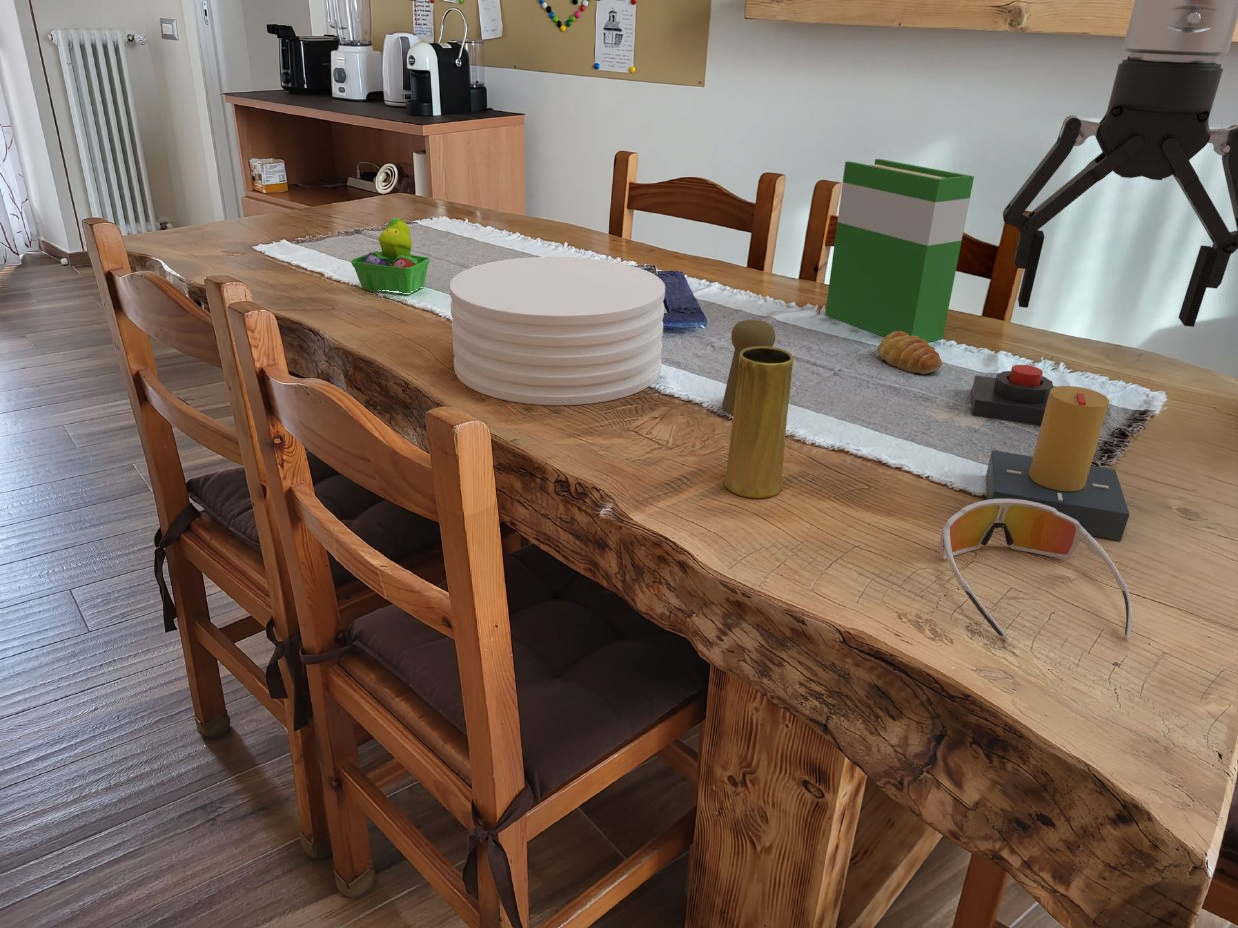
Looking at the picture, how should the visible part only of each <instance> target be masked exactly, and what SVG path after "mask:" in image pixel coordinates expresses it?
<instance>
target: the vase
mask: <svg viewBox="0 0 1238 928" xmlns="http://www.w3.org/2000/svg"><path fill="white" fill-rule="evenodd" d="M794 360H795V359H794V355H793V354H792V353H791V352H789V351H788V350H786V349H783V348H779V347H775V346H773V347H768V346H756V347H749V348H745V349H743V350H742V351H741V352H740V355H739V365H738V374H737V384H736V393H735V403H734V411H733V415H732V422H731V428H730V436H729V437H730V438H729V447H728V456H727V464H726V471H725V474H724V477H723V484H724V486H725V488H726V489H727V490H729V492H731V493H733V494H735V495H738V496H740V497H745V498H749V499H764V498H771V497H774V496H776V495H778V494H779V493H780V492H782V490H783V489H784V482H783V469H784V458H785V447H786V446H785V445H786V433H787V423H788V413H789V412H788V411H789V404H790V395H791V388H792V387H791V386H792V372H793V366H794V365H793V364H794Z"/></svg>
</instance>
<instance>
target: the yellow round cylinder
mask: <svg viewBox="0 0 1238 928" xmlns="http://www.w3.org/2000/svg"><path fill="white" fill-rule="evenodd" d="M1109 404H1110V399H1109V398H1108V397H1107V396H1106V395H1105V394H1103V393H1101V392H1099V391H1096V390H1093V389H1090V388H1086V387H1081V386H1076V385H1075V386H1074V385H1059V386H1056V387H1054V388H1052V389H1051V390H1050V393H1049V397H1048V400H1047V404H1046V408H1045V412H1044V416H1043V420H1042V424H1041V426H1040V428H1039V432H1038V435H1037V439H1036V444H1035V448H1034V452H1033V455H1032V457H1033V459H1032V463H1031V467H1030V470H1029V476H1030V478H1031V479H1032V480H1033V481H1034V482H1036V483H1037V484H1039V485H1041V486H1044V487H1046V488H1050V489H1053V490H1058V491H1069V492H1070V491H1078V490H1081V489H1083V488H1084V487H1085V484H1086V480H1087V477H1088V474H1089V470H1090V467H1091V466H1092V463H1093V460H1094V456H1095V452H1096V449H1097V445H1098V443H1099V439H1100V435H1101V432H1102V430H1103V429H1102V428H1103V424H1104V421H1105V419H1106V415H1107V412H1108V407H1109Z"/></svg>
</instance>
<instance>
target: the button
mask: <svg viewBox="0 0 1238 928" xmlns="http://www.w3.org/2000/svg"><path fill="white" fill-rule="evenodd" d="M1010 371H1011V373H1010V377H1009V381H1011V382H1012V383H1015V384H1019V385H1023V386H1040V382H1041V378H1042V376H1043V373H1044V372H1043V370H1042V369H1041V368H1039V367H1037V366H1033V365H1028V364H1013V365H1012V366H1011V369H1010Z"/></svg>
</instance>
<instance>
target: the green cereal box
mask: <svg viewBox="0 0 1238 928" xmlns="http://www.w3.org/2000/svg"><path fill="white" fill-rule="evenodd" d="M974 179H975V176H974V175H969V174H963V173H958V172H952V171H947V170H942V169H936V168H931V167H926V166H922V165H921V166H920V165H915V164H910V163H904V162H898V161H893V160H889V159H888V160H887V159H883V158H874V164H865V163H860V162H856V161H849V160H847V161H845V162H844V169H843V177H842V183H841V185H842V186H841V191H840V200H839V205H838V206H839V207H838V214H837V222H836V230H835V238H834V244H833V245H834V246H833V252H832V258H831V259H832V260H831V267H830V273H829V274H830V275H829V281H828V282H829V283H828V289H827V290H828V291H827V297H826V305H825V312H824V315H825V316H827V317H829V318H831V319H834V320H837V321H840V322H842V323H846V324H848V325H850V326H853V327H855V328H859V329H861V330H864V331H866V332H869V333H872V334H875V335H877V336H880V337H883V338H885V337H886V336H887V335H890V334H891V333H892V332H895V331H902V332H905V333H907V334H908V335H909V336H917V337H919V338H920V339H922V340H926V341H927V343H928V344H929V343H931V342H935V341H941V340H943V338H944V334H945V330H946V324H947V320H948V319H947V318H948V313H949V308H950V303H951V297H952V293H953V287H954V283H955V277H956V272H957V267H958V262H959V257H960V251H961V246H962V243H963V237H964V236H963V235H964V230H965V226H966V221H967V215H968V210H969V206H970V205H969V204H970V199H971V195H972V189H973V184H974Z"/></svg>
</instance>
